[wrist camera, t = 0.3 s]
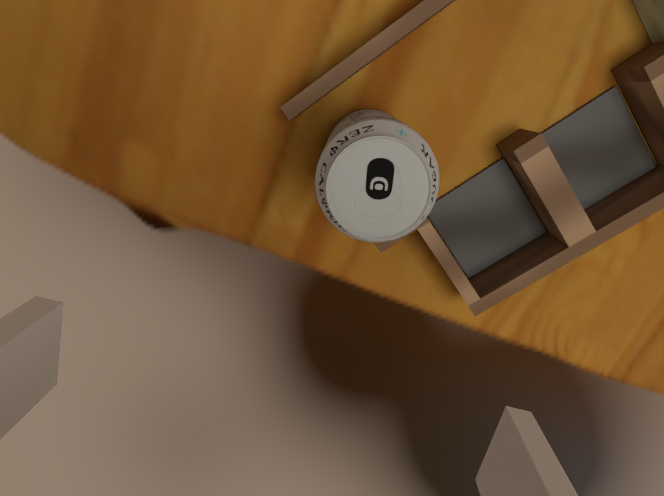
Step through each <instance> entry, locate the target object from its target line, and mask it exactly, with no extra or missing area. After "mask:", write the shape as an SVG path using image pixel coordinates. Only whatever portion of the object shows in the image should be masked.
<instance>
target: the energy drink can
mask: <svg viewBox="0 0 664 496" xmlns="http://www.w3.org/2000/svg"><path fill="white" fill-rule="evenodd" d="M439 177H440V175H439V169H438V163H437V161H436V158H435V155H434V153H433V151H432V149H431V148H430V146H429V145H428V143H427V142H426V141H425V140H424V139H423V138H422V137H421V136H420V134H419V133H417V132H416V131H414V130H413V129H411V128H410V127H408V126H407V125H405V124H404V123H402V122H400V121H399V120H397V119H395V118H394V117H392V116H391V115H389V114H387V113H385V112H382V111H379V110H373V109H364V110H359V111H355V112H353V113H351V114H349V115H347V116H346V117H344V118H343V119H341V120H340V121H339V123H338V124H337V125H336V126H335V127H334V129H333V130H332V132H331V134H330V136H329V138H328V141H327V143H326V145H325V147H324V149H323V152H322V154H321V156H320V159H319V162H318V164H317V168H316V174H315V191H316V196H317V200H318V203H319V205H320V207H321V209H322V212H323V213H324V215H325V216H326V218H327V219H328V220H329V222H330V223H331V224H332V225H334V226H335V227H336V228H337V229H338V230H339V231H341V232H342V233H344V234H346V235H347V236H349V237H352V238H354V239H357V240H360V241H366V242H386V241H391V240H395V239H397V238H400V237H402V236H405V235H406V234H408V233H410V232H411V231H413V230H414V229H416V228H417V227H418V226H419V225H420V224H421V223H422V222H423V221H424V220H425V219H426V217H427V216H428V214H429V213H430V212H431V210H432V208H433V206H434V203H435V201H436V198H437V194H438V190H439Z"/></svg>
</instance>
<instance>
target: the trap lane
mask: <svg viewBox="0 0 664 496" xmlns="http://www.w3.org/2000/svg"><path fill="white" fill-rule="evenodd" d="M454 1H455V0H424V1H422V2H421V3H420V4H418V5H417V6H415V7H414V8H413V9H411V10H410V11H409V12H407V13H406V14H405V15H403V16H402V17H401V18H399V19H398V20H397V21H395V22H394V23H393V24H391V25H390V26H389V27H387V28H386V29H385V30H383V31H382V32H381V33H379V34H378V35H377V36H375V37H374V38H373V39H371V40H370V41H369V42H367V43H366V44H365V45H363V46H362V47H360V48H359V49H358V50H356V51H355V52H354V53H352V54H351V55H350V56H348V57H347V58H346V59H344V60H343V61H342V62H340V63H339V64H338V65H336V66H335V67H334V68H332V69H331V70H330V71H328V72H327V73H326V74H324V75H323V76H322V77H320V78H319V79H318V80H316V81H315V82H314V83H312V84H311V85H310V86H308V87H307V88H305V89H304V90H303V91H301V92H300V93H299V94H297V95H296V96H295V97H293V98H292V99H291V100H289V101H288V102H287V103H285V104H284V105H283V106H281V107H280V109H281V110H282V111H283V113H284V114H285V116H286V117H287V119H288V120H291V119H293V118H295V117H297V116H298V115H300V114H301V113H302V112H304V111H305V110H306V109H308V108H309V107H310V106H312V105H313V104H315V103H316V102H317V101H319V100H320V99H321V98H323V97H324V96H325V95H327V94H328V93H330V92H331V91H332V90H334V89H335V88H336V87H338V86H339V85H340V84H342V83H343V82H345V81H346V80H347V79H349V78H350V77H351V76H353V75H354V74H355V73H357V72H358V71H359V70H361V69H362V68H364V67H365V66H366V65H368V64H369V63H370V62H372V61H373V60H374V59H376V58H377V57H379V56H380V55H381V54H383V53H384V52H385V51H387V50H388V49H389V48H391V47H392V46H394V45H395V44H396V43H398V42H399V41H400V40H402V39H403V38H404V37H406V36H407V35H409V34H410V33H411V32H413V31H414V30H415V29H417V28H418V27H419V26H421V25H422V24H424V23H425V22H426V21H428V20H429V19H430V18H432V17H433V16H434V15H436V14H437V13H439V12H440V11H441V10H443V9H444V8H445V7H447V6H448V5H449V4H451V3H452V2H454ZM632 1H633V3H634V6H635V8H636V10H637V12H638V14H639V16H640V18H641V21H642V23H643V25H644V27H645V29H646V31H647V33H648V35H649V38H650V40H651V42H652V44H650V45H649V46H647V47H646V48H644V49H642V50H641V51H639V52H638V53H636V54H635V55H633V56H632V57H630V58H629V59H627V60H626V61H624V62H622V63H621V64H619V65H618V66H616V67H615V68H613V69H612V70H611V71H612V73H613V75H614V77H615V79H616V81H617V83H618V85H619V87H620V89H621V91H622V93H623V95H624V97H625V99H626V101H627V103H628V105H629V107H630V109H631V111H632V113H633V115H634V117H635V119H636V121H637V123H638V125H639V127H640V129H641V131H642V133H643V135H644V137H645V139H646V141H647V143H648V145H649V147H650V149H651V151H652V153H653V155H654V157H655V159H656V161H657V163H658V165H657V166H656V165H655V163H654V161H653V159H652V157H651V155H650V153H649V151H648V149H647V147H646V145H645V143H644V141H643V139H642V137H641V135H640V133H639V131H638V129H637V127H636V125H635V123H634V121H633V119H632V117H631V115H630V113H629V111H628V109H627V107H626V105H625V103H624V101H623V99H622V97H621V95H620V93H619V91H618V89H617V87H616V86H613V87H612V88H610V89H609V90H607V91H606V92H604V93H602V94H601V95H599V96H598V97H596V98H595V99H593V100H592V101H590V102H588V103H587V104H585V105H584V106H582V107H581V108H579V109H578V110H576V111H574V112H573V113H571V114H570V115H568V116H567V117H565V118H564V119H562V120H560V121H559V122H557V123H556V124H554V125H553V126H551V127H550V128H548V129H546V130H545V131H543V132H542V133H537V132H533V131H528V130H524V129H519V130H518V131H516V132H515V133H513V134H512V135H510V136H509V137H507V138H506V139H504V140H503V141H501V142H499V143H498V144H496V145H497V147H498V149H499V150H500V152H501V154H502V156H503V157H504V159H505V160H504V159H503V158H501V159H500V160H498V161H497V162H495V163H493V164H492V165H490V166H489V167H487V168H486V169H484V170H483V171H481V172H479V173H478V174H476V175H475V176H473V177H472V178H470V179H469V180H467V181H465V182H464V183H462V184H461V185H459V186H458V187H456V188H455V189H453V190H451V191H450V192H448V193H447V194H445V195H444V196H442V197H441V198H439V199H437V200H436V201H435V203H434V206H433V208H432V210H431V212H430V213H429V214H428V216H429V218H430V219H431V221H432V222H433V224H434V226H435V227H436V229H437V230H438V232H439V233H440V235H441V236H442V238H443V239H444V241H445V242H446V244H447V245H448V247H449V248H450V250H451V252H452V253H453V255H454V256H455V258H456V259H457V261H458V262H459V264H460V265H461V267H462V268H463V270H464V271H465V273H466V274H467V276H468V277H469V278H467V277H466V275H465V274H464V272H463V271H462V269H461V268H460V266H459V265H458V263H457V261H456V260H455V258H454V257H453V255H452V254H451V252H450V251H449V249H448V248H447V246H446V245H445V243H444V242H443V240H442V239H441V237H440V236H439V234H438V232H437V231H436V229H435V228H434V226H433V225H432V223H431V222H430V220H429V219H428V217H426V219H425V220H424V221H423V222H422V223H421V224H420V225H419V226H418V227H417V228H416V229H414V230H413V231H411V232H410V233H408V234H406V235H405V236H402V237H400V238H397V239H395V240H391V241H386V242H374V243H375V245H376V246H377V247H378V249H379V250H380V252H383V251H384V250H386V249H387V248H389V247H390V246H392V245H394V244H395V243H397V242H398V241H400V240H401V239H403V238H405V237H406V236H408V235H409V234H411V233H413V232H414V231H416V230H418V231H419V233H420V234H421V236H422V237H423V239H424V240H425V242H426V243H427V245H428V246H429V248H430V249H431V251H432V252H433V254H434V255H435V257H436V258H437V260H438V261H439V263H440V264H441V266H442V267H443V269H444V270H445V272H446V273H447V275H448V276H449V278H450V279H451V281H452V282H453V284H454V285H455V287H456V288H457V290H458V291H459V293H460V294H461V296H462V297H463V299H464V300H465V302H466V303H467V305H468V306H469V308H470V309H471V311H472V312H473V314H474V315H475V316H476V315H478V314H480V313H481V312H483V311H485V310H487V309H488V308H490V307H492V306H494V305H495V304H497V303H499V302H501V301H502V300H504V299H506V298H508V297H509V296H511V295H513V294H515V293H516V292H518V291H520V290H521V289H523V288H525V287H527V286H528V285H530V284H532V283H534V282H535V281H537V280H539V279H541V278H542V277H544V276H546V275H548V274H549V273H551V272H553V271H555V270H556V269H558V268H560V267H562V266H563V265H565V264H567V263H568V262H570V261H572V260H574V259H575V258H577V257H579V256H581V255H582V254H584V253H586V252H588V251H589V250H591V249H593V248H595V247H596V246H598V245H600V244H602V243H603V242H605V241H607V240H609V239H610V238H612V237H614V236H615V235H617V234H619V233H621V232H622V231H624V230H626V229H628V228H629V227H631V226H633V225H635V224H636V223H638V222H640V221H642V220H643V219H645V218H647V217H649V216H650V215H652V214H654V213H656V212H657V211H659V210H661V209H662V208H664V0H632ZM505 161H506V162H507V164H508V165H507V164H506V162H505ZM508 166H509V167H510V169H511V170H510V169H509V167H508ZM511 171H512V172H511ZM512 173H513V174H514V176H515V177H514V176H513V174H512ZM515 178H516V179H517V181H518V182H517V181H516V179H515ZM518 183H519V184H520V186H521V187H520V186H519V184H518ZM521 188H522V189H521ZM522 190H523V191H524V193H525V194H524V193H523V191H522ZM525 195H526V196H527V198H528V199H527V198H526V196H525ZM528 200H529V201H530V203H531V204H530V203H529V201H528ZM531 205H532V206H531ZM532 207H533V208H534V210H535V211H534V210H533V208H532ZM535 212H536V213H537V215H538V216H537V215H536V213H535ZM538 217H539V218H540V220H541V221H540V220H539V218H538ZM541 222H542V223H541ZM542 224H543V225H544V227H545V228H544V227H543V225H542ZM545 229H546V230H547V231H546V230H545Z"/></svg>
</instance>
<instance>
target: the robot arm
mask: <svg viewBox="0 0 664 496" xmlns="http://www.w3.org/2000/svg"><path fill="white" fill-rule="evenodd" d="M62 307H63V303H62V302H58V301H54V300H50V299H46V298H41V297H37V296H36V297H34V298H33V299H31V300H29V301H28V302H26V303H25V304H23V305H22V306H20V307H18V308H17V309H15V310H14V311H12V312H11V313H9V314H8V315H6V316H4V317H3V318H1V319H0V439H1V438H2V437H3V436H4V435H5V434H6V433H7V432H8V431H9V430H10V429H11V428H12V427H13V426H14V425H15V424H16V423H17V422H18V421H20V419H22V418H23V417H24V416H25V415H26V414H27V413H28V412H29V411H30V410H31V409H32V408H33V406H35V405H36V404H37V403H38V402H39V401H40V400H41V399H42V398H43V397H44V396H45V395H46V394H47V393H48V392H49V391H50V390H51V389H52V388H53V387H54V386H55V385H56V384H57V375H58V361H59V347H60V334H61V320H62ZM476 483H477V486H478V488H479V492H480V495H481V496H578V495H577V493H576V491H575V490H574V488H573V486H572V484H571V483H570V481H569V479H568V477H567V475H566V474H565V472H564V470H563V468H562V467H561V465H560V463H559V461H558V459H557V458H556V456H555V454H554V452H553V450H552V449H551V447H550V445H549V443H548V441H547V440H546V438H545V436H544V434H543V433H542V431H541V429H540V427H539V425H538V424H537V422H536V420H535V418H534V417H533V415H532V413H531V412H528V411H525V410H520V409H516V408H511V407H508V406H506V407H505V410H504V412H503V414H502V417H501V419H500V422H499V424H498V426H497V429H496V431H495V434H494V436H493V438H492V441H491V443H490V446H489V448H488V450H487V453H486V455H485V457H484V460H483V462H482V465H481V467H480V469H479V472H478V474H477V477H476Z"/></svg>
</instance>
